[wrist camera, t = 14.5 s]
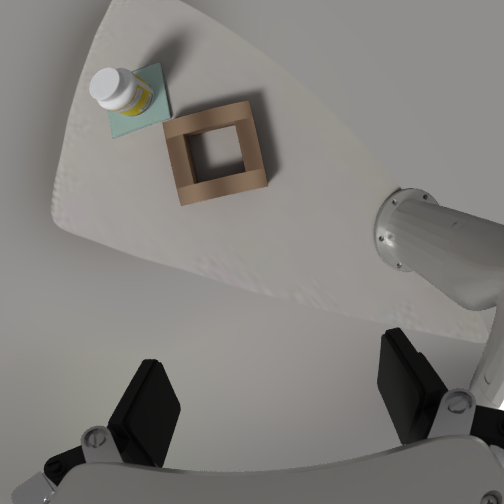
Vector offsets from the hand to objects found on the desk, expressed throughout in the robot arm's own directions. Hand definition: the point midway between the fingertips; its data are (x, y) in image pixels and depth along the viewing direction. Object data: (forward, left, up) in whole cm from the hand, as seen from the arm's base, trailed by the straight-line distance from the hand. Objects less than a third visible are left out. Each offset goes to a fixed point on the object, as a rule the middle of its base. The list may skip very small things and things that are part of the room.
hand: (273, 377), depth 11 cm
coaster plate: (+13, -22, -29) cm, 39 cm away
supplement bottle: (+13, -22, -29) cm, 38 cm away
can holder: (+3, -11, -29) cm, 31 cm away
